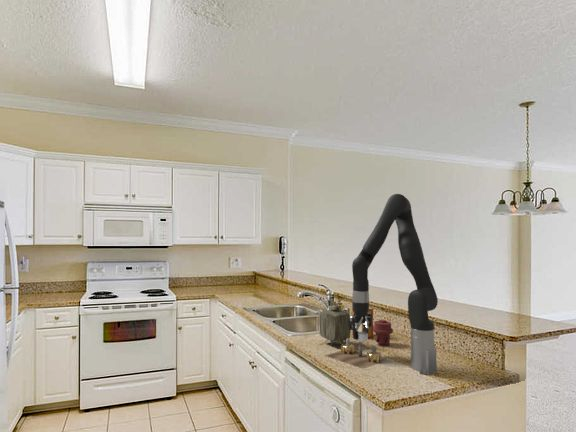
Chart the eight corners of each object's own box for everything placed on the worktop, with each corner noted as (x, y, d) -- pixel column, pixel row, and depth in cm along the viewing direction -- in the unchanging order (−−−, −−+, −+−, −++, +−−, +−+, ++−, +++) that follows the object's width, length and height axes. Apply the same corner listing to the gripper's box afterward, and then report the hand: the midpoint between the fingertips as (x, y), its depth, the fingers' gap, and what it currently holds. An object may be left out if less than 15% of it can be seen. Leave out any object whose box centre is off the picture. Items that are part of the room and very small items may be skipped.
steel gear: (359, 337, 181) (359, 330, 181) (370, 340, 176) (370, 333, 176) (350, 339, 177) (350, 332, 177) (361, 342, 172) (361, 335, 172)
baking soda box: (352, 335, 217) (352, 305, 218) (361, 333, 220) (361, 305, 221) (363, 339, 209) (363, 308, 209) (372, 337, 212) (372, 307, 212)
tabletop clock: (350, 349, 190) (350, 297, 191) (336, 352, 185) (336, 298, 187) (331, 342, 202) (332, 293, 204) (317, 344, 198) (318, 294, 199)
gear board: (386, 363, 170) (386, 345, 171) (362, 371, 160) (362, 352, 160) (347, 351, 187) (347, 335, 187) (324, 357, 177) (324, 341, 177)
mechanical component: (396, 345, 198) (385, 349, 191) (380, 341, 205) (368, 344, 199) (396, 320, 198) (385, 323, 192) (380, 317, 206) (368, 320, 199)
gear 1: (357, 352, 182) (357, 341, 182) (348, 355, 178) (348, 344, 178) (347, 349, 186) (347, 338, 186) (338, 351, 182) (338, 341, 182)
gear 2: (382, 359, 172) (382, 352, 172) (379, 363, 166) (379, 356, 166) (368, 357, 175) (368, 350, 175) (365, 361, 169) (365, 354, 169)
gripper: (364, 298, 185) (364, 333, 184) (343, 301, 176) (343, 338, 175) (377, 300, 179) (377, 337, 178) (356, 303, 170) (356, 342, 169)
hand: (360, 337), depth 177 cm, fingers closed on steel gear, 6 cm apart
